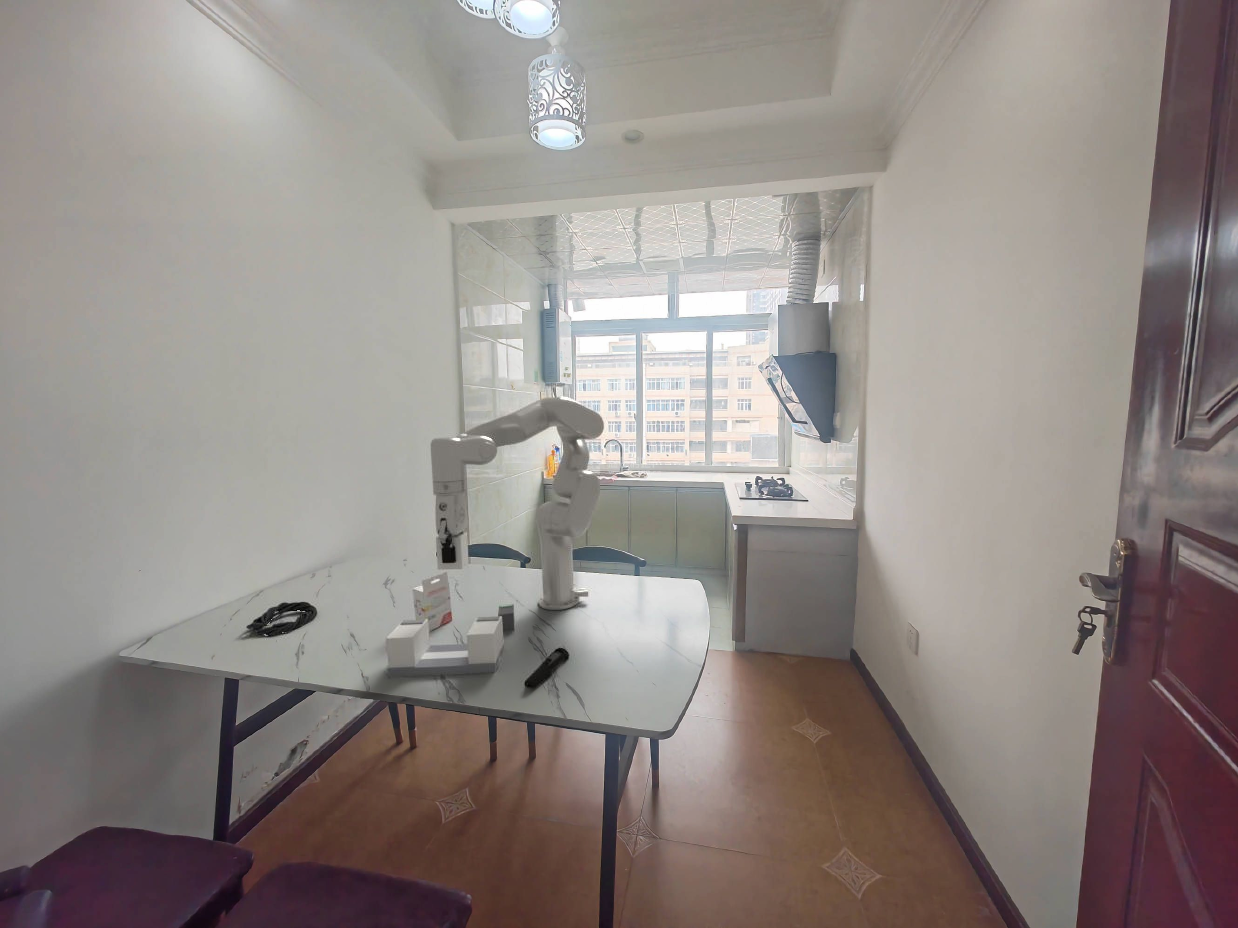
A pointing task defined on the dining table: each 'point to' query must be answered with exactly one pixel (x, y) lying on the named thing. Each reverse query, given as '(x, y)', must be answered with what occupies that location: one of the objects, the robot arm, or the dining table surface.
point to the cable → (262, 621)
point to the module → (460, 549)
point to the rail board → (444, 650)
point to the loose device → (507, 616)
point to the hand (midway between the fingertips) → (453, 558)
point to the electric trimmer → (546, 668)
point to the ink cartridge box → (433, 601)
